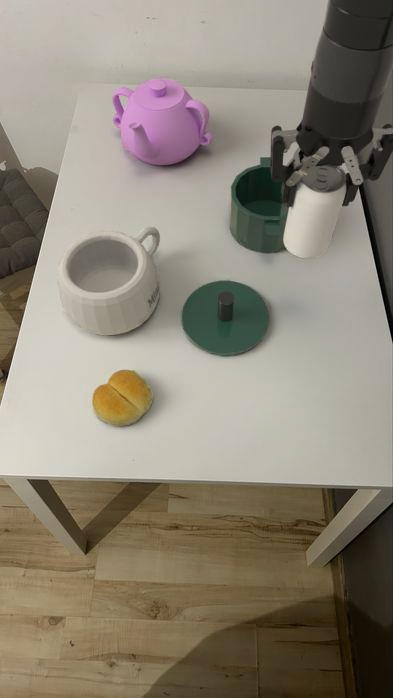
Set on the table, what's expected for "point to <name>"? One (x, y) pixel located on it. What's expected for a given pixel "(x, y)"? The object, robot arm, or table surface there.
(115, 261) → the mug
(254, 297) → the lid
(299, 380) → the table surface
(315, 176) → the can
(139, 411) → the bread roll
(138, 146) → the teapot
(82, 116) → the table surface
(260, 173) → the pot
